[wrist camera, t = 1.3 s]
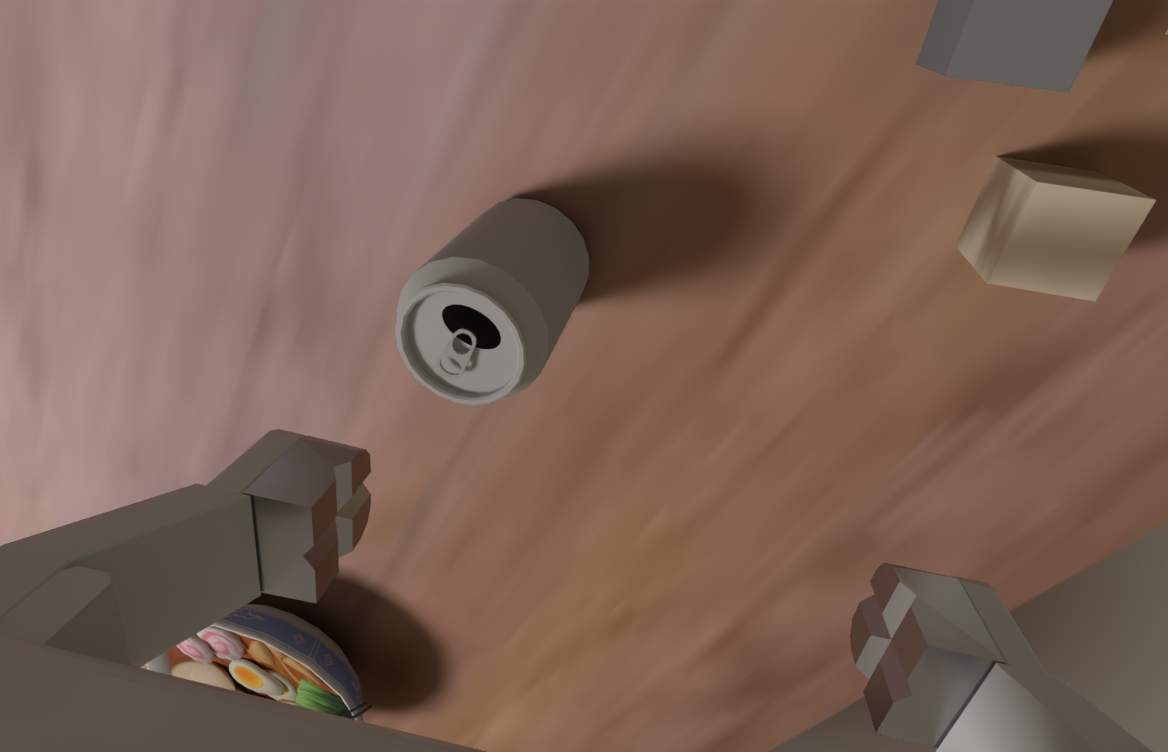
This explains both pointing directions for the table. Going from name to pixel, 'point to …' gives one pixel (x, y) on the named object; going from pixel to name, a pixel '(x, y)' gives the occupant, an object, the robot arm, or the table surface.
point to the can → (492, 302)
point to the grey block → (1013, 40)
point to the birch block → (1051, 227)
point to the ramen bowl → (269, 661)
